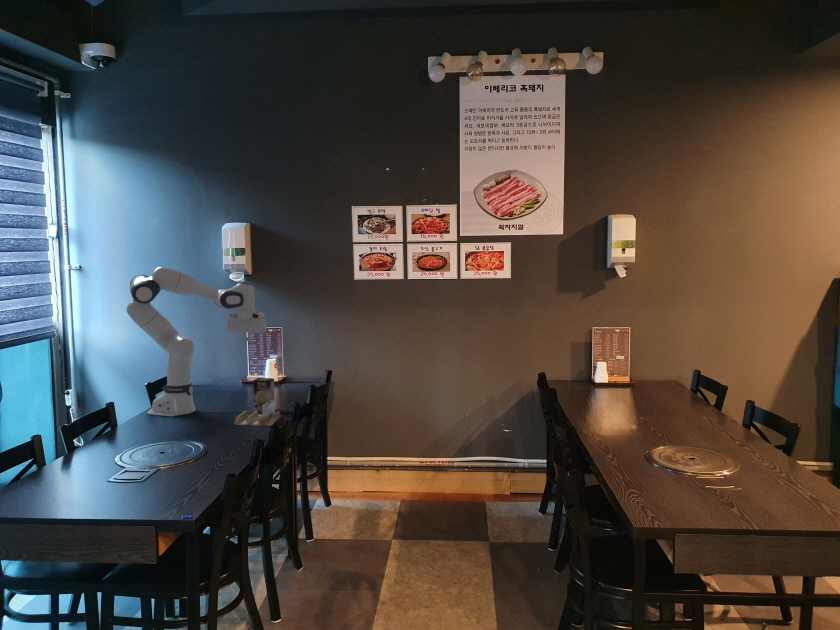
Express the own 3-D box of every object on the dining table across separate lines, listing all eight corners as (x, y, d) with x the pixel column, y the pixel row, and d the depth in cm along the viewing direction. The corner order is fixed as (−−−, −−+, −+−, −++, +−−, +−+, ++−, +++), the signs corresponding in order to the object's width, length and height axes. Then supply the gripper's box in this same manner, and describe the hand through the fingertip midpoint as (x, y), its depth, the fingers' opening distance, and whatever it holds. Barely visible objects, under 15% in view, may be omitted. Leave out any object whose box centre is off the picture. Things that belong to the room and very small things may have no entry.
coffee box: (253, 411, 298) (252, 380, 297) (258, 408, 305) (257, 377, 303) (271, 412, 298) (270, 380, 296) (275, 408, 304) (274, 378, 302)
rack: (234, 425, 276) (234, 418, 275) (245, 415, 291) (245, 409, 290) (270, 425, 275) (270, 419, 274) (280, 416, 290) (280, 410, 289)
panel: (262, 421, 277) (262, 405, 277) (269, 415, 287) (268, 399, 286) (268, 422, 277) (268, 405, 276) (275, 416, 287) (275, 399, 286)
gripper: (224, 314, 302) (225, 341, 304) (263, 315, 301) (264, 342, 302) (228, 313, 308) (229, 339, 310) (267, 313, 307) (268, 340, 308)
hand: (247, 340), depth 306 cm, fingers closed
